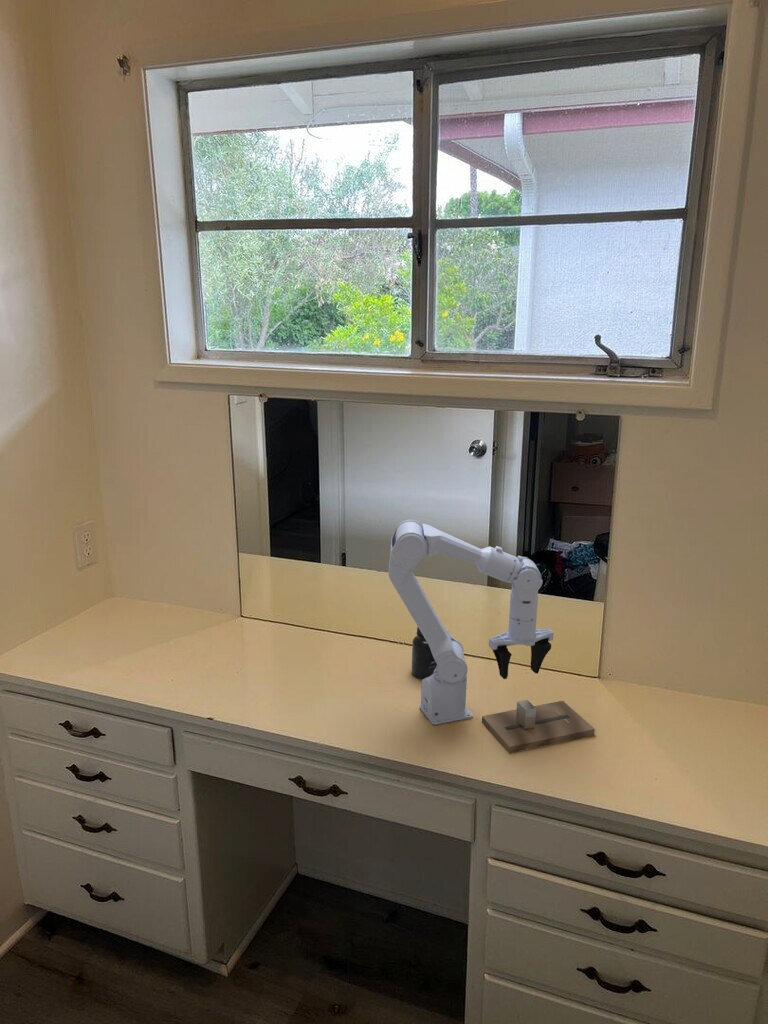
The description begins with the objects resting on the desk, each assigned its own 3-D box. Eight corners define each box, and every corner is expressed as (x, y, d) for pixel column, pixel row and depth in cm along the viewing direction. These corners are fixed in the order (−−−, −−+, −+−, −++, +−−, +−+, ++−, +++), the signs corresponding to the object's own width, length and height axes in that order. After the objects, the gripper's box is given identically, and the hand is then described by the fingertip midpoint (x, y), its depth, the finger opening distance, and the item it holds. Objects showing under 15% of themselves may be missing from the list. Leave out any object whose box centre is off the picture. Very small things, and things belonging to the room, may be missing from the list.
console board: (509, 753, 148) (509, 746, 147) (481, 722, 159) (482, 715, 158) (594, 735, 154) (594, 728, 154) (562, 706, 165) (563, 700, 165)
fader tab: (524, 729, 153) (525, 710, 152) (515, 720, 156) (517, 701, 155) (534, 727, 154) (536, 708, 153) (525, 718, 157) (527, 699, 156)
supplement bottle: (437, 681, 176) (439, 635, 172) (409, 678, 177) (410, 632, 174) (441, 668, 182) (442, 623, 179) (413, 665, 183) (414, 620, 180)
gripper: (501, 628, 150) (497, 688, 154) (563, 618, 155) (558, 677, 159) (485, 614, 157) (482, 672, 160) (545, 606, 161) (541, 662, 165)
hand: (519, 674), depth 160 cm, fingers open, 7 cm apart
